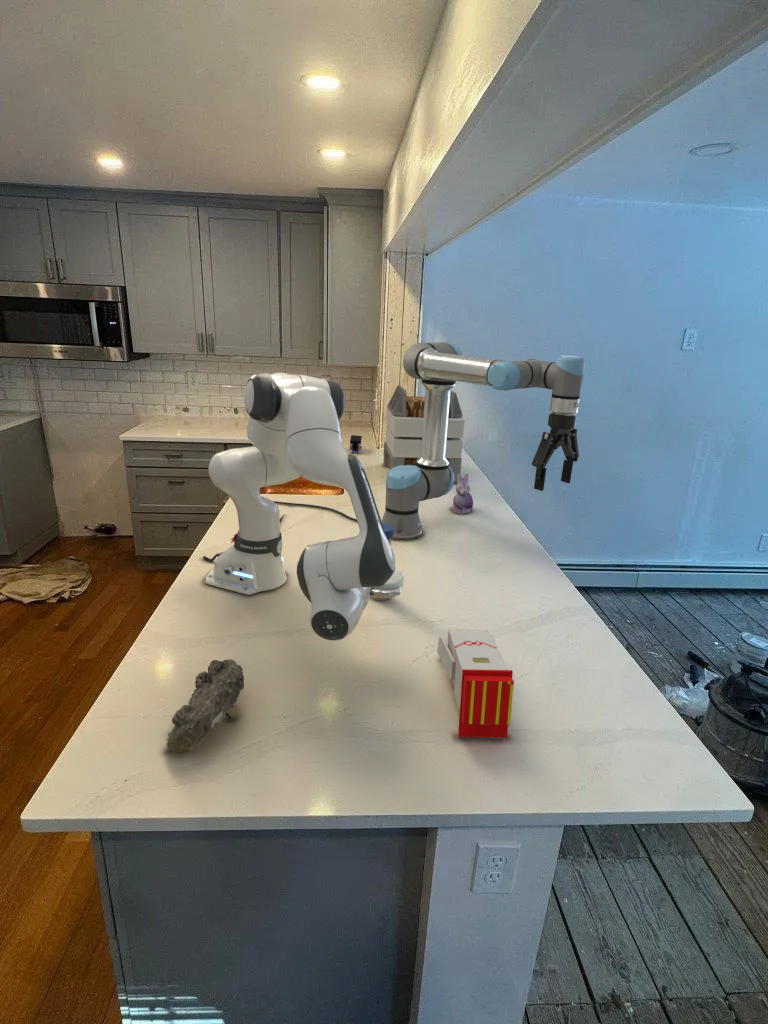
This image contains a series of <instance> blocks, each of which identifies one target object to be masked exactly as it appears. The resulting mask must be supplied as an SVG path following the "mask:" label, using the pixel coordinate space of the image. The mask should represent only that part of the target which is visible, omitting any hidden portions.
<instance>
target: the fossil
mask: <svg viewBox="0 0 768 1024" xmlns="http://www.w3.org/2000/svg"><path fill="white" fill-rule="evenodd" d="M243 670H244V669H243V667H242V665H240V664H237V662H236V661H235V660H234V659H232V658H231V659H227V658H226V659H224V660H223V661H222V660H217V659H212V660H211V661H210V663H209V665H208V666H207V671H201V672H199V673H198V674H197V675H196V676H195V680H194V684H195V685H194V687H195V689H194V690H193V693H192V694H191V697H190V698H189V700H188V704H184V705H182V706H181V707H180V709H177V710H176V711H175V713H174V715H173V716H172V718H171V723H172V724H173V727H172V730H171V731H170V732H168V734H167V738H166V741H167V742H166V745H167V749H168V750H169V751H173V752H174V753H176V754H178V753H182V752H188V751H189V752H192V751H193V750H195V748H196V747H197V746H199V744H200V743H201V742H203V741H204V740H205V739H206V738H207V737H208V736H209V735H210V734H211V733H212V732H214V730H215V729H217V727H218V726H219V724H220V722H221V721H222V720H223V719H224V718H225V716H226V717H227V719H229V720H233V717H232V715H230V714H229V710H230V709H231V708H234V706H235V704H236V703H237V702H238V699H239V697H240V695H241V693H242V691H243V690H245V689H244V688H245V675H244V671H243Z"/></svg>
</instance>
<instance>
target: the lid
mask: <svg viewBox="0 0 768 1024" xmlns="http://www.w3.org/2000/svg"><path fill="white" fill-rule="evenodd" d="M382 525H383V528H384V531H385V533H386V536H387V538H388V539H390V538H392V537H393V527H392V526H390V525H387V524H382Z"/></svg>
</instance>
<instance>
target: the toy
mask: <svg viewBox="0 0 768 1024" xmlns="http://www.w3.org/2000/svg"><path fill="white" fill-rule="evenodd" d="M446 640H447V643H446V641H445V639H444V636H443V635H442V634H439V637H438V646H437V656H438V657H439V659H440V661H441V663H442V666H443V668H444V670H445V672H446V674H447V677H448V679H449V681H450V684H451V687H452V690H453V693H454V697H455V701H456V705H457V708H458V711H459V714H458V715H459V716H458V730H457V731H458V732H457V737H458V738H508V731H509V726H510V725H511V717H512V707H513V697H514V696H513V695H514V684H515V680H514V679H513V673H514V671H513V670H512V669H508V667H507V665H506V662H505V661H504V659H503V658H502V655H501V653H500V651H499V649H498V647H497V643H496V639H495V637H494V635H493V634H491V632H490V631H489V629H467V628H466V629H465V628H463V629H461V628H460V629H459V628H448V630H447V639H446Z"/></svg>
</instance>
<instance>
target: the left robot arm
mask: <svg viewBox="0 0 768 1024" xmlns="http://www.w3.org/2000/svg"><path fill="white" fill-rule="evenodd" d="M345 398H346V397H345V393H344V389H343V388H342V387H341V384H340V383H339V382H336V381H334V380H332V379H329V378H320V377H316V376H315V377H314V376H310V375H305V374H298V373H297V374H292V373H291V374H289V373H286V372H273V373H270V372H259V373H254V374H252V376H250V378H249V379H248V380H247V382H246V386H245V388H244V392H243V403H244V406H245V407H244V408H245V411H246V414H247V415H248V416H249V418H248V421H247V425H246V435H247V439H248V441H249V442H250V443H251V444H252V445H253V446H245V447H237V448H236V447H235V448H230V449H227V450H223V451H220V452H217V453H215V454H214V455H212V457H211V458H210V461H209V464H208V476H209V479H210V481H211V482H212V484H213V485H214V486H215V487H216V489H218V490H219V491H222V492H223V493H224V494H225V495H226V496H228V497H229V498H230V500H231V501H232V502H233V504H234V506H235V508H236V509H235V510H236V513H237V519H238V530H237V532H236V533H235V534H234V535H233V537H231V539H230V543H231V544H232V543H234V544H233V545H231V546H230V547H229V548H227V549H226V550H224V551H221V552H219V553H216V554H214V556H213V557H212V558H210V557H207V556H205V555H203V556H202V559H203V560H206V561H207V562H213V561H214V566H213V569H211V570H210V571H209V572H208V573H207V575H206V576H205V584H206V585H209V586H213V587H217V588H221V589H224V590H228V591H232V592H236V593H239V594H243V595H249V596H250V595H251V596H252V595H254V594H257V593H259V592H266V591H271V590H274V589H278V588H279V587H281V586H283V585H284V584H286V582H287V580H288V579H287V578H288V577H287V574H286V571H285V567H284V563H283V562H284V557H283V556H282V552H283V537H282V532H281V522H280V519H281V517H280V508H279V506H278V505H277V503H275V502H273V501H274V500H271V499H269V498H268V497H264V496H262V495H261V490H260V489H261V488H265V487H271V486H277V485H278V486H279V485H283V484H287V483H289V482H292V481H294V480H297V479H299V478H300V477H301V478H303V479H305V480H307V481H309V482H312V483H316V484H319V485H323V486H330V487H335V488H339V489H343V490H345V491H346V492H347V494H348V496H349V499H350V502H351V505H352V509H353V512H354V515H355V519H357V521H356V522H357V526H358V529H359V532H358V534H356V536H351V537H346V538H340V539H335V540H327V541H321V542H317V543H311V544H308V545H306V546H305V548H304V549H303V550H302V552H301V554H300V556H299V559H298V561H297V564H296V565H297V566H296V576H297V582H298V585H299V588H300V590H301V592H302V594H303V595H304V597H305V598H306V600H307V601H308V602H309V603H310V617H309V620H310V626H311V629H312V631H313V632H314V633H315V635H317V636H318V637H319V638H321V639H323V640H326V641H340V640H343V639H345V638H347V637H348V636H349V635H350V634H351V633H352V632H353V631H354V630H355V628H356V627H357V625H358V623H359V622H360V620H361V618H362V616H363V612H364V610H365V609H366V607H367V605H368V604H369V601H370V599H371V598H372V597H380V598H387V599H394V598H396V597H398V596H400V595H401V593H402V590H403V588H404V582H405V581H404V579H405V578H404V577H405V575H404V573H403V572H402V571H398V570H396V557H395V553H394V549H393V547H392V544H391V545H390V543H389V541H388V538H387V536H386V533H385V531H384V528H383V525H382V519H381V516H380V513H379V509H378V506H377V503H376V500H375V497H374V494H373V490H372V488H371V485H370V482H369V479H368V476H367V473H366V470H365V469H364V466H363V465H362V462H361V461H360V459H359V458H358V457H357V456H356V455H354V454H352V453H349V452H348V451H347V449H346V448H345V445H344V443H343V439H342V438H343V437H342V432H341V426H340V420H341V418H342V416H343V415H344V412H345V407H346V406H345V404H346V399H345Z"/></svg>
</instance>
